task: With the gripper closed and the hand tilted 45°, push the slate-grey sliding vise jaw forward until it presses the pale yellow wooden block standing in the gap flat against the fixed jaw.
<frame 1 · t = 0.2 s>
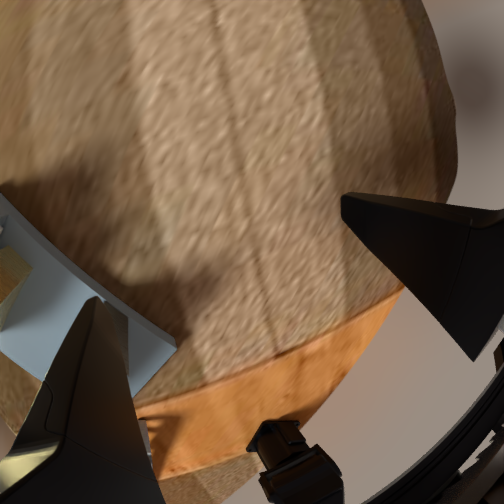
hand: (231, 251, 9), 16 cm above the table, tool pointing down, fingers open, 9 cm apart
caliper: (143, 461, 29), on the table
sliding jaw: (74, 381, 17), point 6 cm above the table, slide at 0.0 cm
pale yellow wooden block: (2, 291, 17), point 2 cm above the table, touching vise
vise: (47, 315, 21), on the table
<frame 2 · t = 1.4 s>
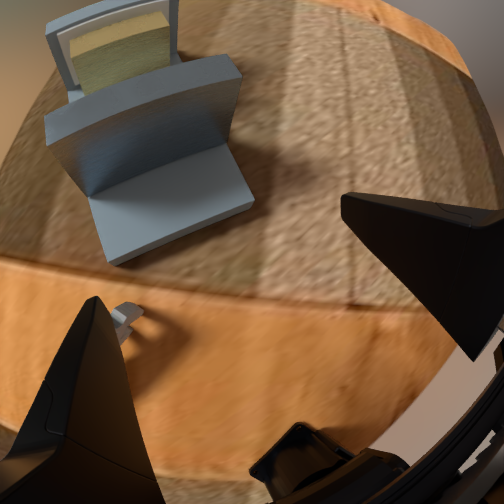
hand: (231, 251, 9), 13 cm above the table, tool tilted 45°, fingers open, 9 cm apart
caliper: (85, 404, 18), on the table
sliding jaw: (145, 124, 17), point 6 cm above the table, slide at 0.0 cm
pale yellow wooden block: (127, 85, 22), point 2 cm above the table, touching vise
vise: (141, 131, 24), on the table
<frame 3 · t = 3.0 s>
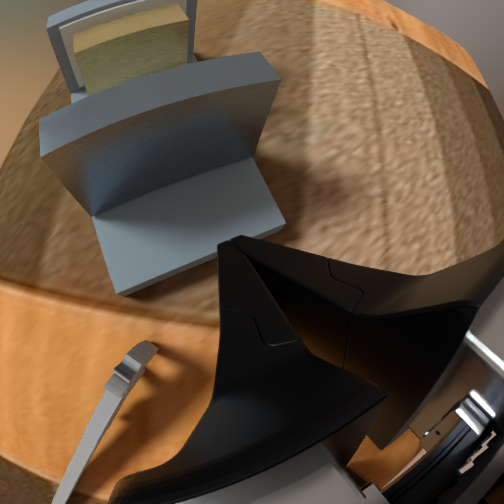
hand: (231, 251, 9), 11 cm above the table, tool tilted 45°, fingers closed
caliper: (93, 444, 16), on the table
sliding jaw: (161, 133, 15), point 6 cm above the table, slide at 0.0 cm
pale yellow wooden block: (137, 88, 20), point 2 cm above the table, touching vise
vise: (153, 140, 21), on the table
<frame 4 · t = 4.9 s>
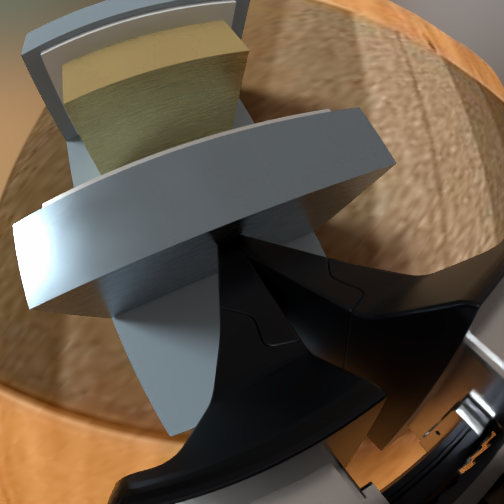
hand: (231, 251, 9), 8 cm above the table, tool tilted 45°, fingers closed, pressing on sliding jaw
sliding jaw: (208, 221, 11), point 6 cm above the table, slide at 1.5 cm, touching gripper
pale yellow wooden block: (160, 139, 16), point 2 cm above the table, touching vise
vise: (188, 217, 17), on the table
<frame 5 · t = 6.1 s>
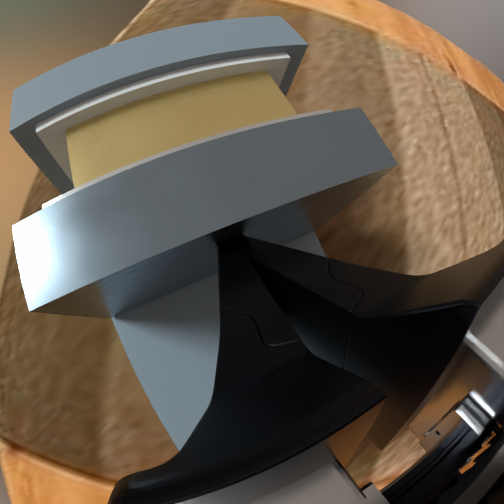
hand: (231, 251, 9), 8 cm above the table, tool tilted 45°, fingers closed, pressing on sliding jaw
sliding jaw: (208, 222, 11), point 6 cm above the table, slide at 7.0 cm, touching pale yellow wooden block, gripper
pale yellow wooden block: (185, 199, 15), point 2 cm above the table, touching sliding jaw, vise
vise: (224, 301, 17), on the table
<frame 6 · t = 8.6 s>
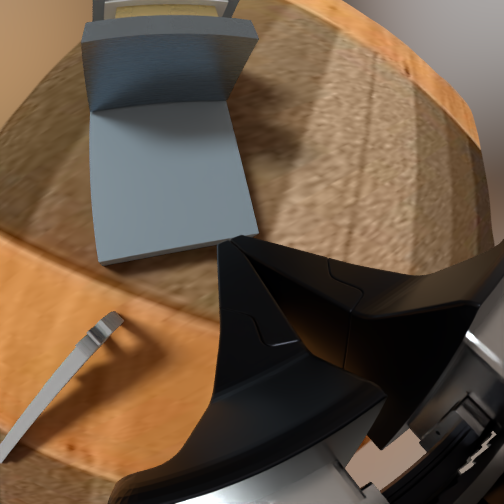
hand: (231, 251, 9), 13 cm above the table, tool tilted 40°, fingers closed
caliper: (45, 399, 16), on the table
sliding jaw: (163, 59, 18), point 6 cm above the table, slide at 7.0 cm
pale yellow wooden block: (156, 70, 22), point 2 cm above the table, touching vise
vise: (158, 129, 23), on the table
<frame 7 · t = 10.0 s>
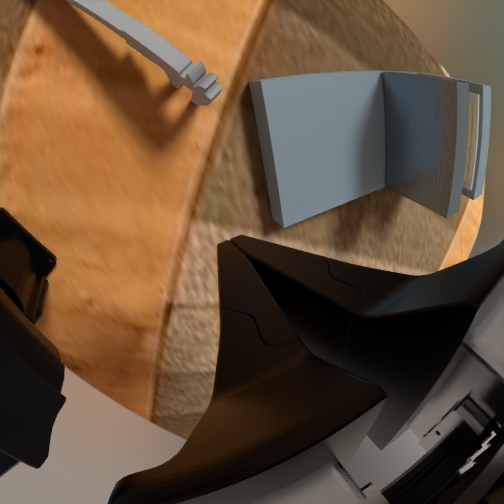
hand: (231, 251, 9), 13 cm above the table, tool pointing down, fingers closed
caliper: (98, 18, 12), on the table
sliding jaw: (426, 139, 21), point 6 cm above the table, slide at 7.0 cm
pale yellow wooden block: (409, 126, 25), point 2 cm above the table, touching vise
vise: (360, 129, 25), on the table
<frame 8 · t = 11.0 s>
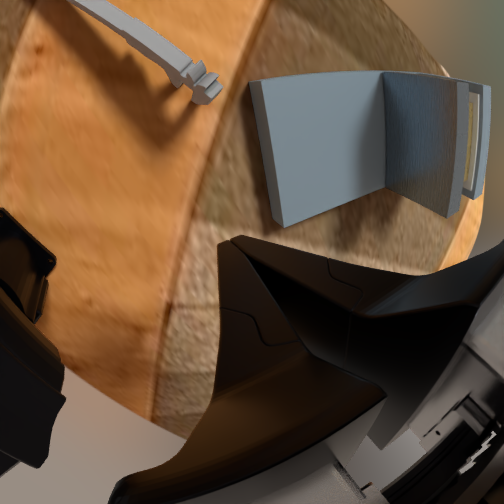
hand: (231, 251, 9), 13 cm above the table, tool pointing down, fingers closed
caliper: (98, 17, 12), on the table
sliding jaw: (426, 139, 21), point 6 cm above the table, slide at 7.0 cm
pale yellow wooden block: (410, 126, 25), point 2 cm above the table, touching vise
vise: (360, 129, 25), on the table
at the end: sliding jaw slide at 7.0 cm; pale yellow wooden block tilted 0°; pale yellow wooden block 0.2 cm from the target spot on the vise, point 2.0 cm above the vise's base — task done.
